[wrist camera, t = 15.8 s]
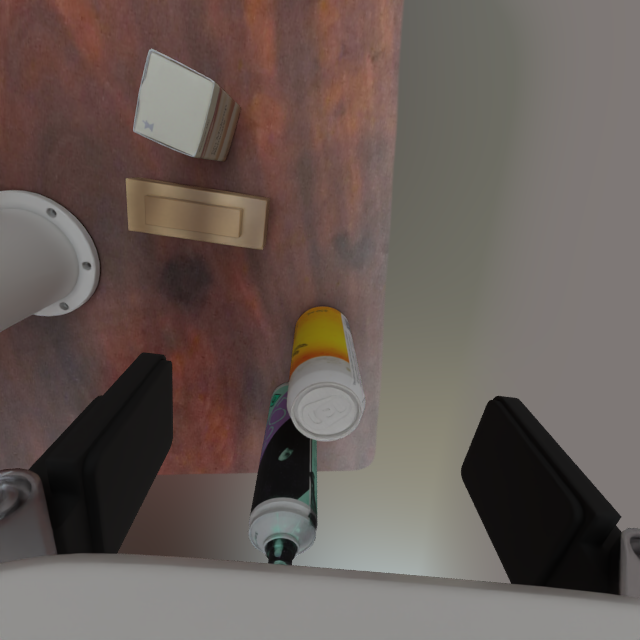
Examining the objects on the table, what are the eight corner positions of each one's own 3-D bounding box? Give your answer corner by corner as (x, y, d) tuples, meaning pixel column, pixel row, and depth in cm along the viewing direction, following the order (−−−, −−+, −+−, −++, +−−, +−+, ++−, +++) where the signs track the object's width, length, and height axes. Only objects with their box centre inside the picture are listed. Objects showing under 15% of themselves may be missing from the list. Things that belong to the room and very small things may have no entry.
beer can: (285, 320, 40) (269, 401, 26) (332, 293, 39) (342, 364, 25) (312, 361, 42) (312, 456, 29) (358, 337, 41) (381, 424, 27)
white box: (226, 163, 34) (194, 163, 25) (180, 142, 33) (128, 133, 24) (244, 104, 32) (216, 80, 23) (196, 80, 31) (146, 45, 22)
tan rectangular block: (146, 224, 36) (121, 232, 31) (144, 176, 34) (118, 178, 30) (267, 241, 37) (260, 253, 32) (271, 196, 35) (265, 201, 30)
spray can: (295, 372, 43) (280, 530, 25) (325, 401, 45) (333, 568, 26) (262, 398, 44) (225, 565, 26) (292, 425, 46) (278, 599, 28)
